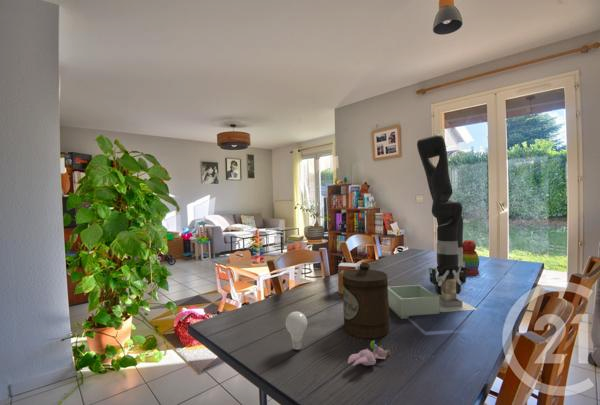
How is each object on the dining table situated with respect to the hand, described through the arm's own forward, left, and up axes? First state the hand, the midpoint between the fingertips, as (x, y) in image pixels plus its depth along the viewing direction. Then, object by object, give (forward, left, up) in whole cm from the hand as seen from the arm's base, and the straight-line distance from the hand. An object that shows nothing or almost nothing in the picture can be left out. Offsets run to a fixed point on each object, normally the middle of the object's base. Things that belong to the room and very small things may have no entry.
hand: (448, 294), depth 114 cm
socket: (0, 0, -5) cm, 5 cm away
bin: (+15, +1, -5) cm, 16 cm away
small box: (+34, -22, -5) cm, 41 cm away
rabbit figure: (+43, +33, -5) cm, 54 cm away
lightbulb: (+61, +23, -5) cm, 65 cm away
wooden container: (+37, +13, -5) cm, 40 cm away
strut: (0, 0, -4) cm, 4 cm away
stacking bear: (-38, -42, -5) cm, 57 cm away
